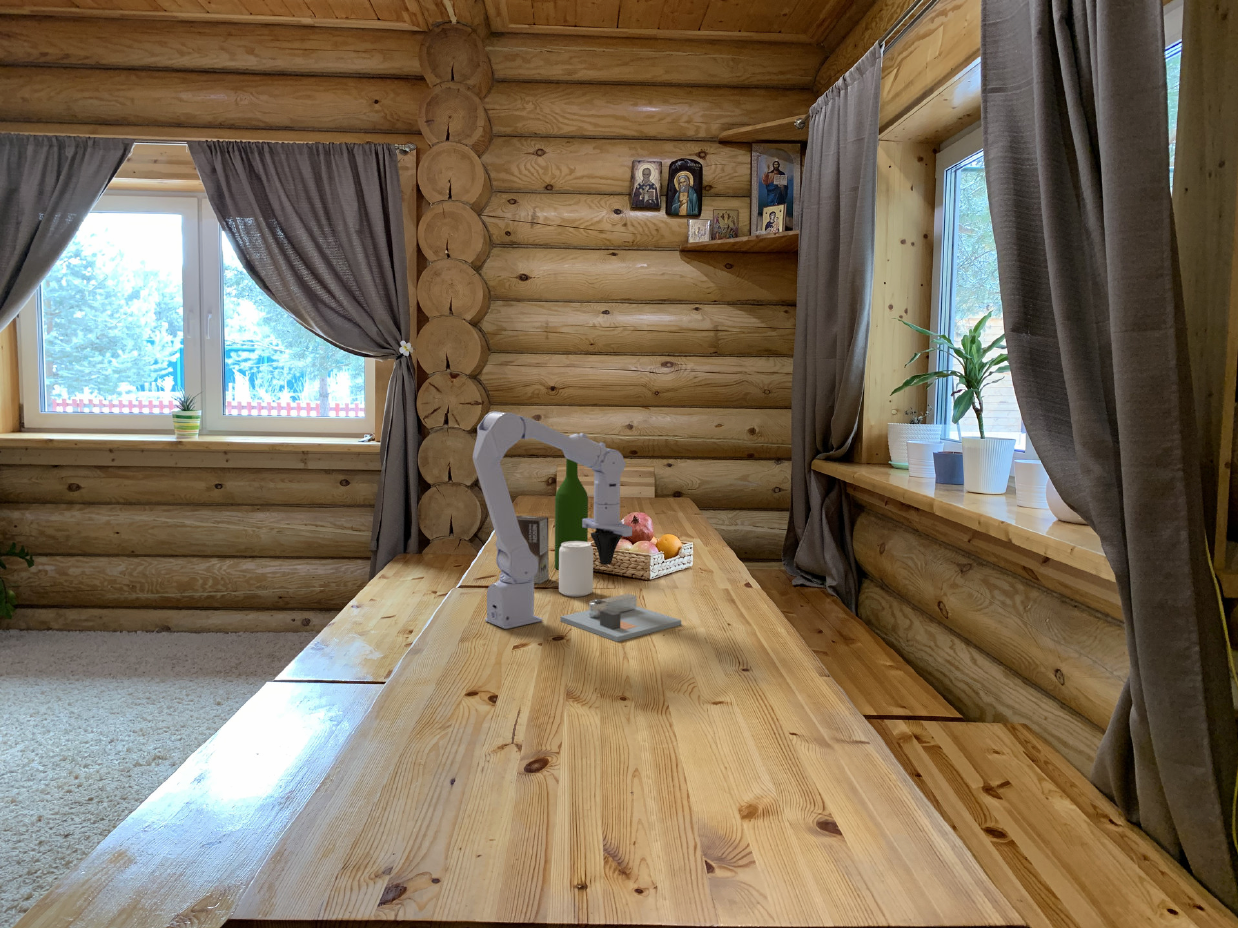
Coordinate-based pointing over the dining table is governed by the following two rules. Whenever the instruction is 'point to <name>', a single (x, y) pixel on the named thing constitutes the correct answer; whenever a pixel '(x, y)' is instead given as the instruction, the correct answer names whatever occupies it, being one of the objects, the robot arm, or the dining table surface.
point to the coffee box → (536, 542)
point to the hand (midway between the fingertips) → (606, 563)
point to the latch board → (621, 623)
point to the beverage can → (576, 568)
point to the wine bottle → (570, 510)
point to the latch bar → (612, 604)
